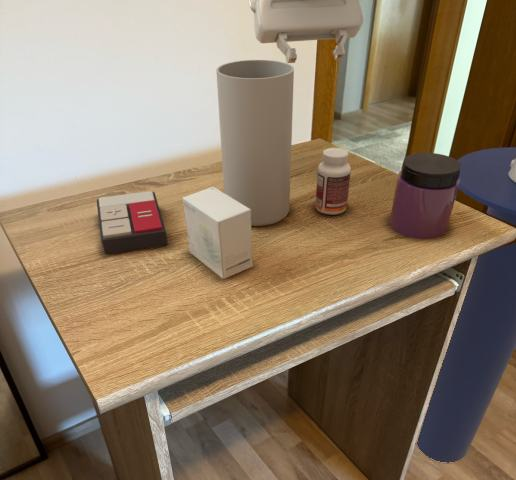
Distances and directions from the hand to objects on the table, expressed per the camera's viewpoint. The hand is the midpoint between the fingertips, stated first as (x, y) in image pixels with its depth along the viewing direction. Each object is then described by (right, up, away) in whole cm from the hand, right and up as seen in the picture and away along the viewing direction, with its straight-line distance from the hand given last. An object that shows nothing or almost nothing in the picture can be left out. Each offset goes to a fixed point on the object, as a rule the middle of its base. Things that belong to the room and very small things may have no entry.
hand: (316, 59), depth 89 cm
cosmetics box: (-17, -38, -7) cm, 42 cm away
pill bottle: (+4, -26, +7) cm, 27 cm away
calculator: (-34, -31, +2) cm, 46 cm away
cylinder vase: (-11, -26, +6) cm, 29 cm away
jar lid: (+19, -22, -6) cm, 29 cm away
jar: (+19, -30, +2) cm, 36 cm away
